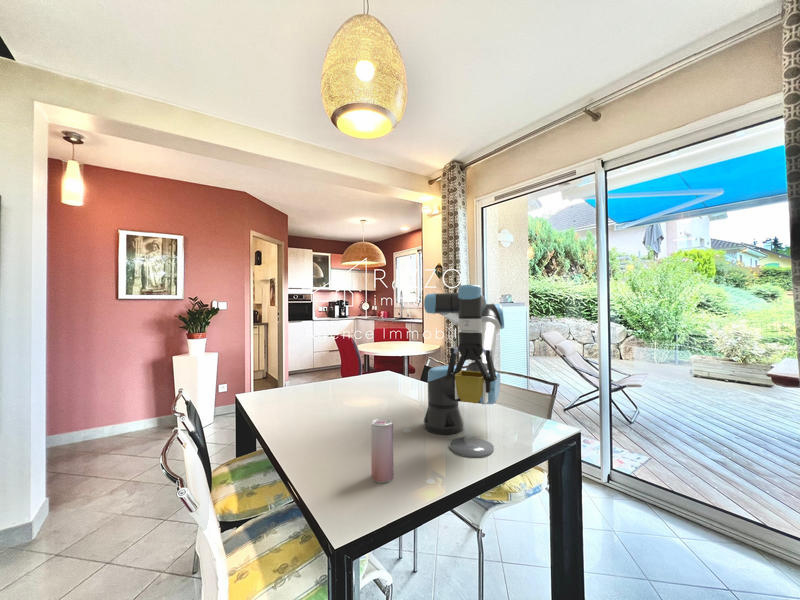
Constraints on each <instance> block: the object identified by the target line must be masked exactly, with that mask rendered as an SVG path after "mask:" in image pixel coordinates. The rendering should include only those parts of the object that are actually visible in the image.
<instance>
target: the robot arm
mask: <svg viewBox="0 0 800 600" xmlns="http://www.w3.org/2000/svg"><path fill="white" fill-rule="evenodd" d="M457 289H458V291H457V292H452V293H451V292H450V293H449V292H448V293H445V292H443V293H435V292H434V293H427V294H426V295H425V296H424V299H423V300H424V301H423V306H424V310H425V313H426V314H433V315H435V314H439V315H441V316H442V317H445V318H447V319H448V321H450V323H452V324H454V325H456V326H458V331H460V332H459V333H458V346H457V347H455V346H454V347H453V346H452V347H450V348H449V351H450V352H449V353H450V357H449V362H448V365H438V366H435V367H431V368H429V370H428V372H427V409H426V413H425V415H424V419H423V428H424V429H425V430H426V431H428V432H430V433H432V434H433V433H434V434H437V435H438V434H439V435H452V434H458V433H460V432H463V430H464V421H463V418H462V414H461V411H460V408H459V402H460V403H462V401H461V399H460V398H459V396H458V393H457V389H456V381H455V374H457V373H458V372H460V371H473V372H481V374H482V376H483V378H484V380H485V382H483V395H482V397H481V399H480V400H479V402H478V403H477V404H481V405H494V404H496V403H497V402H498V399H499V395H500V390H501V389H500V388H501V375H500V373H499V372H498V371H497V370H496V368H495V366H494V362H495V354H496V353H495V351H496V342H497V335H498V334H499V333H500V331H501V330H503V329H504V328H505V319H504V309H503V306H502V304H500V303H487V299H486V297H485V296H484V295H483V293H482V286H481V285H478V284H461V285H459V287H458V288H457ZM458 353H459V354H460V357H459V359H458V362H457V364H456V360H457V354H458ZM469 360H470V363H468V364H467V366H466V369H465V370H464V369H462V368H463V367H464V365H465V362H466V361H469Z"/></svg>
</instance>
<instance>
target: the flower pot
mask: <svg viewBox="0 0 800 600" xmlns="http://www.w3.org/2000/svg"><path fill="white" fill-rule="evenodd" d="M455 381H456V389H457V393H458V396H459V398H460V399H461V401H462V402H463V403H470V404H479V403H478V402H479V400H480V399H481V397H482V395H483V382H485V380H484V378H483V376H482V374H481V372H473V371H460V372H458V373H457V374H455ZM462 402H461V403H462Z"/></svg>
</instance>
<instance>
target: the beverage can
mask: <svg viewBox="0 0 800 600" xmlns="http://www.w3.org/2000/svg"><path fill="white" fill-rule="evenodd" d="M370 430H371V431H370V432H371V433H370V437H371V439H370V443H371V446H370V447H371V449H370V450H371V453H370V457H371V459H370V461H371V462H370V463H371V465H370V466H371V468H370V469H371V471H370V472H371V479H372V480H373V482H375V483H379V484H385V483H389V482H390V481H392V479H393V478H394V475H395V474H394V472H395V471H394V469H395V468H394V424H393V420H392V419H389V418H386V417H385V418H375V419H372V421H371V425H370Z"/></svg>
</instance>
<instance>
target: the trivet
mask: <svg viewBox="0 0 800 600" xmlns="http://www.w3.org/2000/svg"><path fill="white" fill-rule="evenodd" d="M449 449H450V451H451V452H453V453H455V454H456V455H459V456H462V457H465V458H474V459H475V458H480V459H481V458H485V457H486V458H487V457H489V456H491V455H492V454H493V453H494V449H495V448H494V445H493V444H492V442H490V441H488V440H486V439H483V438H480V437H474V436H472V437H471V436H463V437H461V436H460V437H457V438H456V437H455V438H454V439H452V440H451V441H450V442H449Z"/></svg>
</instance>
